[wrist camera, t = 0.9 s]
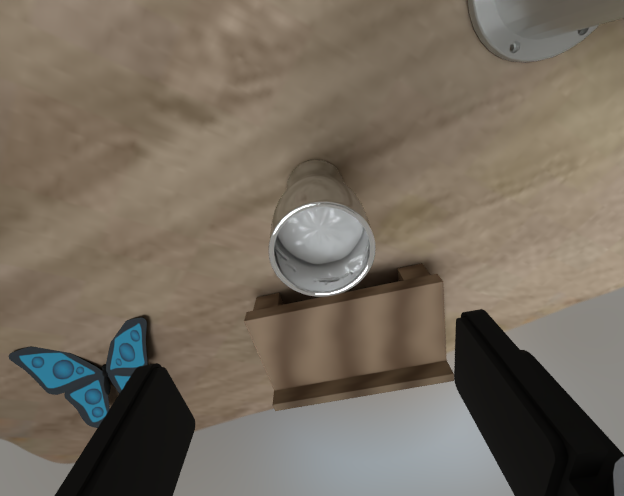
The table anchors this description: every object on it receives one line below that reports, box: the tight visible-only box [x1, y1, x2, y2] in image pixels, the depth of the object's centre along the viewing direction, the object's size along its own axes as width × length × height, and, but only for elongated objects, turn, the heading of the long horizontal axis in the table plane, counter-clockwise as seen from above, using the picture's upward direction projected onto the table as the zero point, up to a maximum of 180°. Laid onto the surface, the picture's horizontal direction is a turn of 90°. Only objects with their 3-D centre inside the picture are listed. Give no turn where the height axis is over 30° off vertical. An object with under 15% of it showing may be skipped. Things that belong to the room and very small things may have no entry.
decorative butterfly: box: [9, 318, 148, 428], centre depth 42 cm, size 20×14×3 cm
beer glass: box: [269, 160, 375, 297], centre depth 25 cm, size 7×7×15 cm
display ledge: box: [244, 263, 454, 411], centre depth 36 cm, size 22×13×7 cm, turn 103°
